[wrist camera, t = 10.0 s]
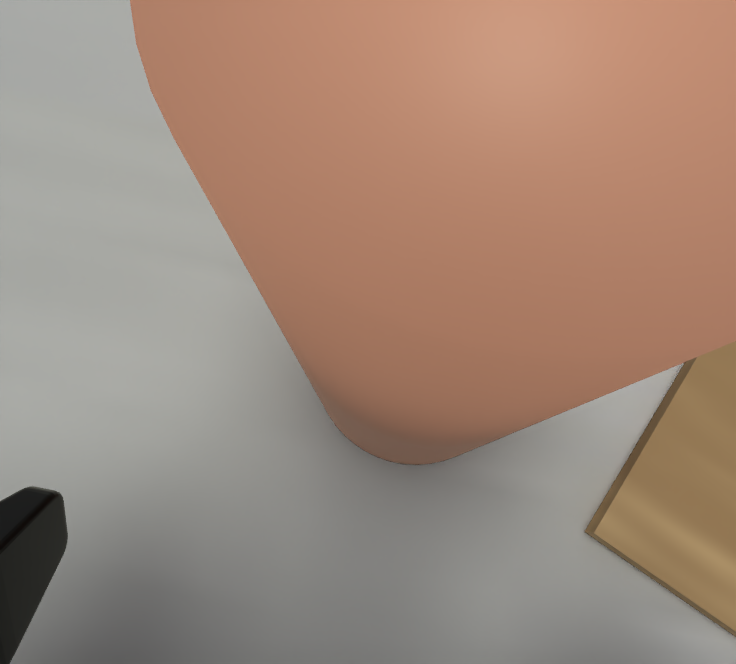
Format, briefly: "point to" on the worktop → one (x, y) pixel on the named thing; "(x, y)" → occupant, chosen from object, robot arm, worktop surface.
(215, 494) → the worktop surface
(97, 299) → the worktop surface
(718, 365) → the brown wooden flat block
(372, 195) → the post
